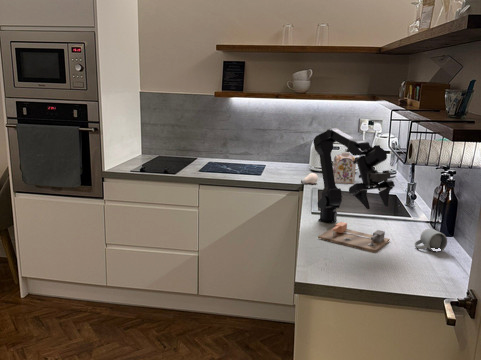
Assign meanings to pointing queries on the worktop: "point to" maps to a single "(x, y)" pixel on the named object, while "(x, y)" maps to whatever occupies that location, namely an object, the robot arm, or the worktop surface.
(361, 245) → the board
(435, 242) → the ceramic mug
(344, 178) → the decorative jar
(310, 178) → the light bulb
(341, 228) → the block
